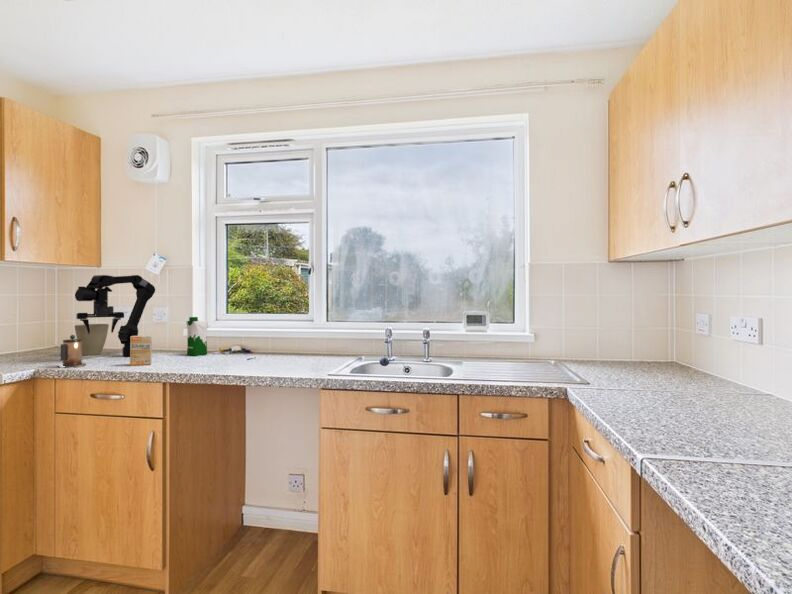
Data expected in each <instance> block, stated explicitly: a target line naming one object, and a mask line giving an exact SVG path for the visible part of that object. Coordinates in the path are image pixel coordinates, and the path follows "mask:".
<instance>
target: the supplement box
mask: <svg viewBox="0 0 792 594" xmlns="http://www.w3.org/2000/svg"><path fill="white" fill-rule="evenodd" d="M152 337H153V336H152V335H138V336H131V337H130V357H129V366H130V367H131V366H132V367H134V366H136V365H138V366H151V365H152V356H153V355H152V349H153V342H152V341H153V338H152Z"/></svg>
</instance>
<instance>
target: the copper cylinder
mask: <svg viewBox="0 0 792 594" xmlns="http://www.w3.org/2000/svg"><path fill="white" fill-rule="evenodd" d="M82 355H83V353H82V339H77V338H76V335H75V334H71V335H70V336H69V339H63V340H62V344H60V361H61V362H62V365H63V366H75V365H81V364H82V363H83V356H82Z"/></svg>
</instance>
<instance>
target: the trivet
mask: <svg viewBox="0 0 792 594" xmlns="http://www.w3.org/2000/svg"><path fill="white" fill-rule="evenodd" d="M85 365H87V363H85V362H82V364H81V365H75V366H65V367H74V368H80V367H79V366H82V367H85Z"/></svg>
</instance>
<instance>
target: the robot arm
mask: <svg viewBox="0 0 792 594" xmlns="http://www.w3.org/2000/svg"><path fill="white" fill-rule="evenodd" d="M119 284H132V287H133V289H135V290H136V292H135V295H136V301H135V303H134V305H133V307H132V311H131V313H130V315H129V316H128V317H129V318H128V320H127V322H126V324H125V325H120V326H119V330H118V331H117V334H118V335H117V337H118V340H119V341H120V344H121V345H123V347H122V356H123V357H125V358H126V357H127V358H128V357H129V358H130V337H131V336H139V328H138V325H139V323H140V321H141V318H142V315H143V313H144V310H145V307H146V305H147V303H148V301H149V300H151V298H152V297H153V296H154V294H155V293H156V287H155V286H154V285H153V284H152V283H150V282H149V281H148V280H145V278H143V277H142V276H140V275H139V274H132V275H122V276H121V275H120V276H118V275H117V276H113V275H108V274H107V275H106V274H98V275H97V274H95V275H92V277H91V279H90V281H89V282H88V284H87V285H86V286H77V287H78V288H77V289H76V290H75V294H74V298H75V300H76V301H78V302H93V313H88V312H77V313H76V315H75V316H76V317H75V319H76V320H79V321H81V322H83V325H84V324H85V326H86V329H87V331H88V334H90V329H89V324H90V323H89V318H112V319H111V330H110V332H111V334H113V332H114V330H115V328H116V326H117V323H118V322H119V320H120V321H121V320H122V319H123V318H125V313H124V312H123V311H114V306H112V305H111V306H109V304H108V303H109V299H108V298H109V293H110V292H111V293H112V292H113V290H112V289H111V288H110V287H111V286H113V285H119Z"/></svg>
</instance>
